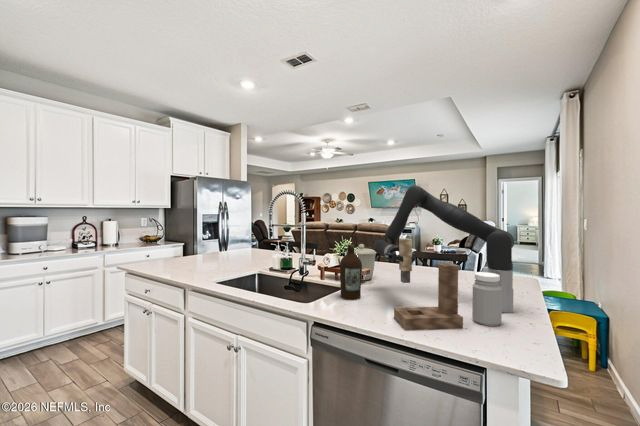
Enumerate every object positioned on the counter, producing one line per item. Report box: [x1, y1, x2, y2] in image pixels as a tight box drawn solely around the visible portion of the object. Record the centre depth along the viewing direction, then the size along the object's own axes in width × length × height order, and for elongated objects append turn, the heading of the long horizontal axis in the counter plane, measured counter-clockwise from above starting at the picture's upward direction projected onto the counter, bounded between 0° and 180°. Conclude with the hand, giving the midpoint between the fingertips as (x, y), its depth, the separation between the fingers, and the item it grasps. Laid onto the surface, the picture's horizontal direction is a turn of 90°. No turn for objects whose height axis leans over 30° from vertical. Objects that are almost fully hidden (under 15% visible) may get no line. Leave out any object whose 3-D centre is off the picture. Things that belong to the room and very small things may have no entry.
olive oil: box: [339, 244, 362, 301], centre depth 148 cm, size 11×11×25 cm
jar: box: [471, 271, 503, 327], centre depth 116 cm, size 10×10×18 cm
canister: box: [354, 243, 378, 281], centre depth 187 cm, size 18×18×21 cm
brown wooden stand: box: [393, 262, 464, 331], centre depth 114 cm, size 22×12×22 cm, turn 95°
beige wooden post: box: [398, 238, 413, 284], centre depth 129 cm, size 4×4×18 cm
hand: (408, 259), depth 126 cm, fingers closed on beige wooden post, 4 cm apart
